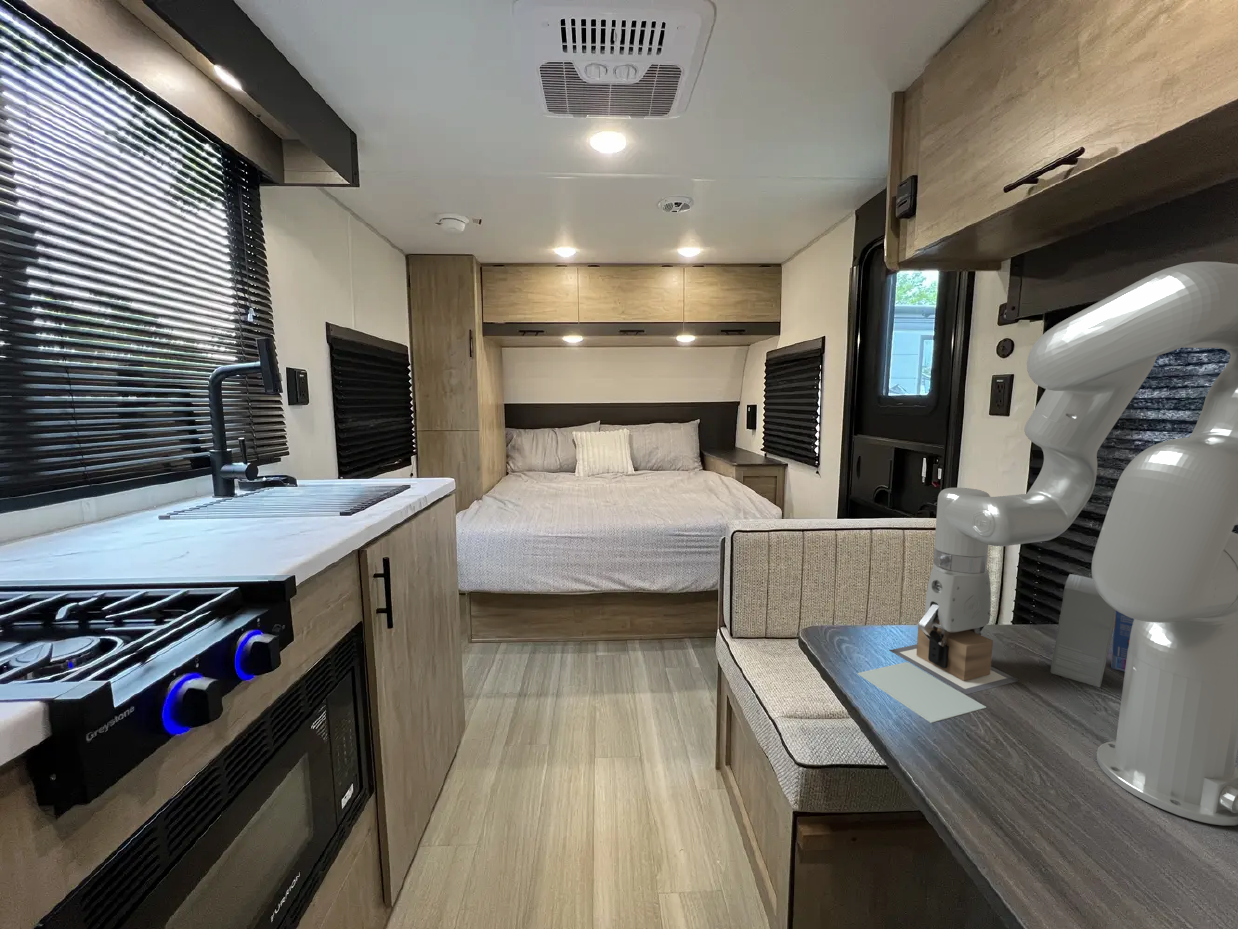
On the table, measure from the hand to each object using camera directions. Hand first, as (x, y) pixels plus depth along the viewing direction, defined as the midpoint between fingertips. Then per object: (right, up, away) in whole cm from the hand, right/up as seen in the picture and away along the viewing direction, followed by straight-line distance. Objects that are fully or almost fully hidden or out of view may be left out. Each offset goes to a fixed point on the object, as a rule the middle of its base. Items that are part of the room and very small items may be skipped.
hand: (952, 660), depth 89 cm
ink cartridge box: (+32, -1, 0) cm, 32 cm away
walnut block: (0, -1, 0) cm, 1 cm away
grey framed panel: (0, -1, 0) cm, 1 cm away
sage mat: (-10, -2, -7) cm, 13 cm away
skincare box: (+20, -1, -2) cm, 20 cm away
